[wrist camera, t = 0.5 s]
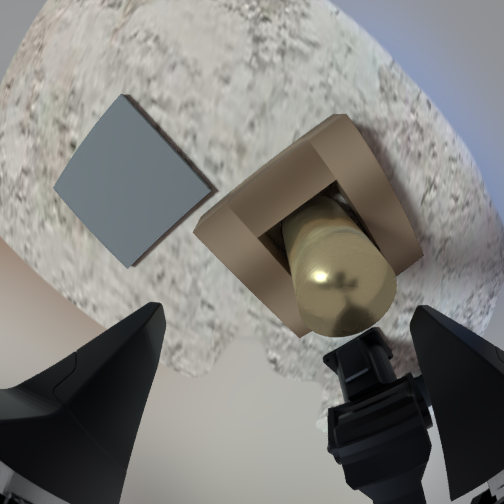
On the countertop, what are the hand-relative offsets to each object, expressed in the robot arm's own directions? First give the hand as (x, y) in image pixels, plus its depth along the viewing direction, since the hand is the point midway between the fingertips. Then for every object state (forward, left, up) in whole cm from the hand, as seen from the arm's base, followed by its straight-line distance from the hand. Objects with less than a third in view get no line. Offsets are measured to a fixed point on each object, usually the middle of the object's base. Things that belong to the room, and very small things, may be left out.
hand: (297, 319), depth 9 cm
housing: (-3, -1, -12) cm, 13 cm away
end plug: (-3, -1, -12) cm, 13 cm away
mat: (+9, +8, -12) cm, 17 cm away
